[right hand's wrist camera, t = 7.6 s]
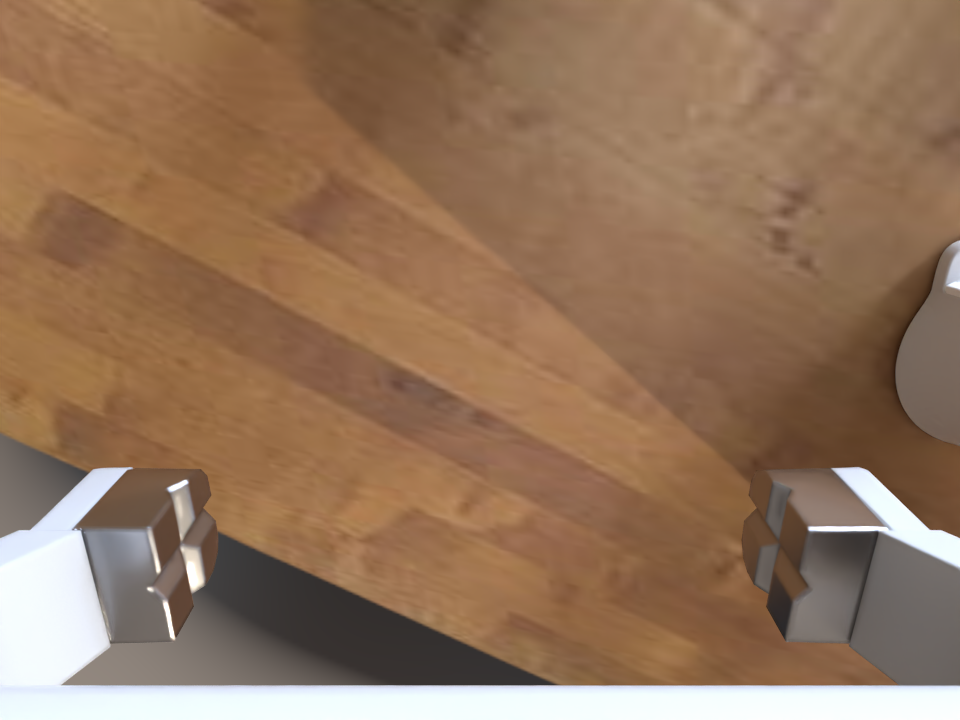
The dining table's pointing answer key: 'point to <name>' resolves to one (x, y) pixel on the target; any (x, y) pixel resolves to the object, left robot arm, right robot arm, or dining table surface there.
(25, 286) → the dining table surface
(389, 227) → the dining table surface
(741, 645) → the dining table surface
